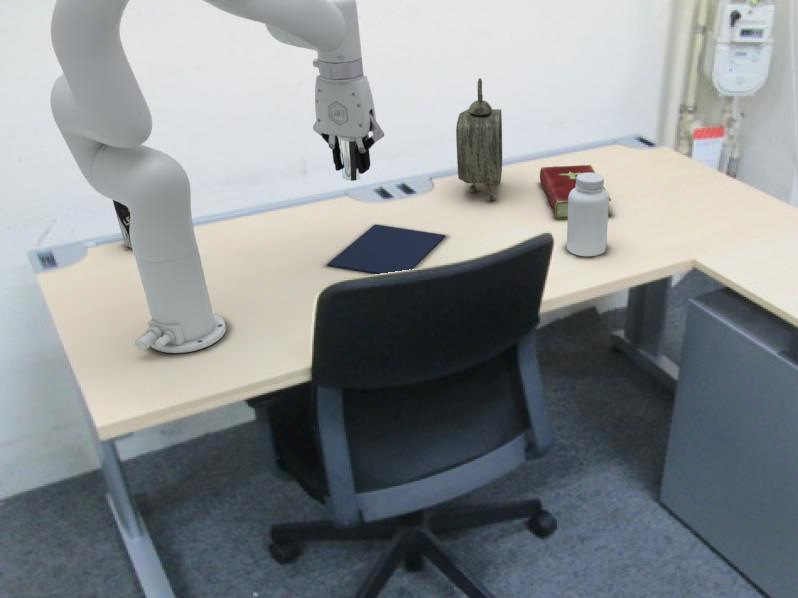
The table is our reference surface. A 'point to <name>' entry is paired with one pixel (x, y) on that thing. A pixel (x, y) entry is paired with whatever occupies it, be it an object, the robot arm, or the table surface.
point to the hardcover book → (561, 186)
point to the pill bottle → (587, 216)
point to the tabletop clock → (479, 144)
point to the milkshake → (348, 157)
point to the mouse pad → (386, 250)
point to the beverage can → (123, 221)
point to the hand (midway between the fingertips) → (352, 168)
